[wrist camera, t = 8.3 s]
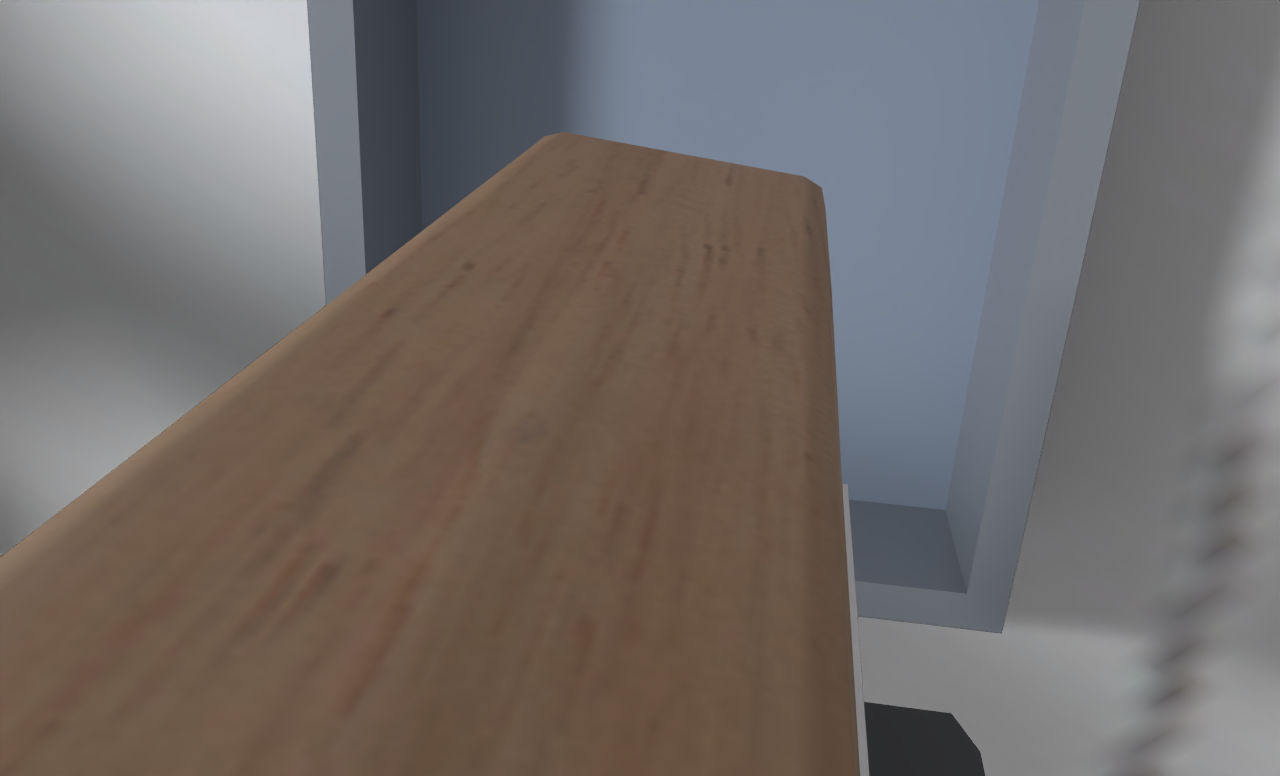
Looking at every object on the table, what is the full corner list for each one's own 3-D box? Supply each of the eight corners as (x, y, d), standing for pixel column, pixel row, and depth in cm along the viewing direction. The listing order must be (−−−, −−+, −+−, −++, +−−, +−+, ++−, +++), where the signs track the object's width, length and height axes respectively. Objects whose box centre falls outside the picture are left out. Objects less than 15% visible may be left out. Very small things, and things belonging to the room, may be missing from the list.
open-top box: (404, 468, 40) (341, 554, 34) (380, -228, 31) (290, -262, 25) (972, 530, 38) (1001, 633, 32) (1114, -196, 29) (1188, -224, 23)
